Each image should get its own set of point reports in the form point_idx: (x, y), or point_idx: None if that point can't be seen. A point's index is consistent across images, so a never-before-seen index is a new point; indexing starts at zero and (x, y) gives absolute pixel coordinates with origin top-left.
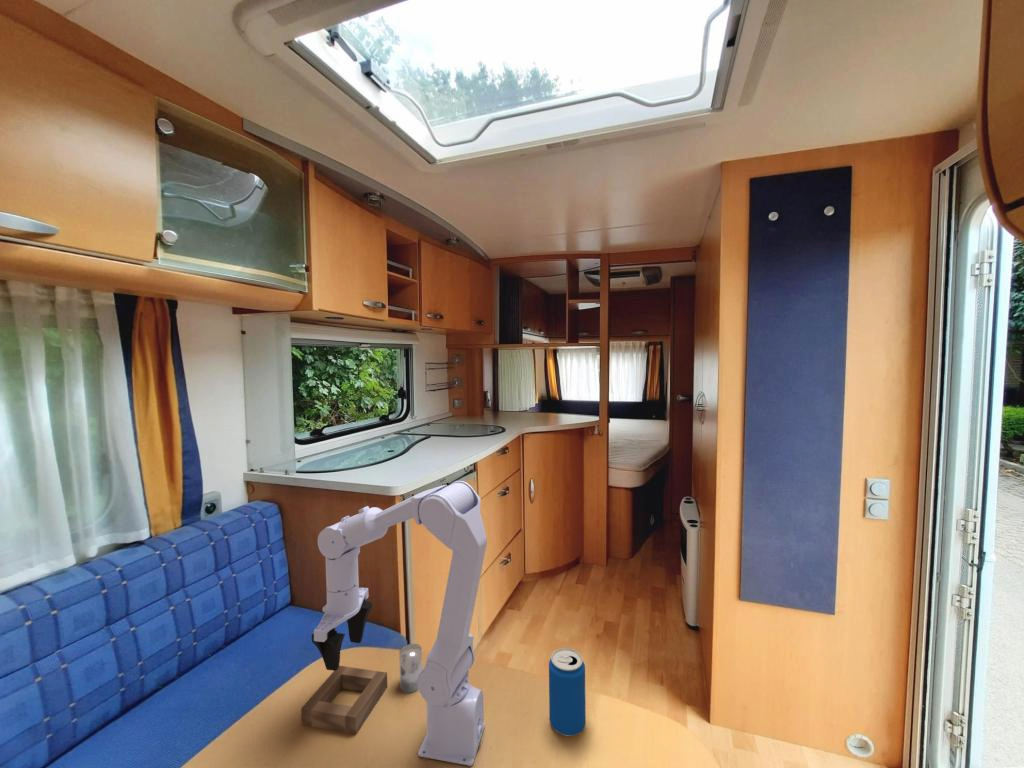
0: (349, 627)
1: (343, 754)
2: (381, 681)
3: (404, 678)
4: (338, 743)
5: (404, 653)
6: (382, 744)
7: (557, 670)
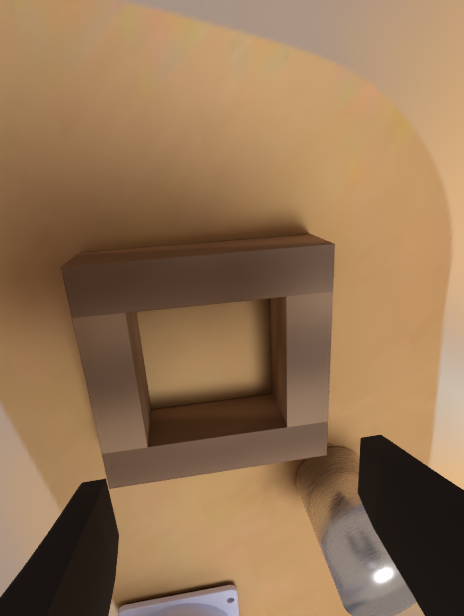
0: (433, 516)
1: (48, 456)
2: (284, 459)
3: (311, 514)
4: (72, 421)
5: (370, 577)
6: (118, 522)
7: None
